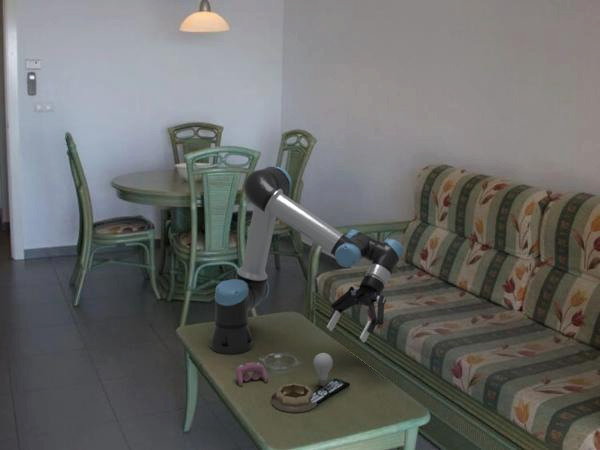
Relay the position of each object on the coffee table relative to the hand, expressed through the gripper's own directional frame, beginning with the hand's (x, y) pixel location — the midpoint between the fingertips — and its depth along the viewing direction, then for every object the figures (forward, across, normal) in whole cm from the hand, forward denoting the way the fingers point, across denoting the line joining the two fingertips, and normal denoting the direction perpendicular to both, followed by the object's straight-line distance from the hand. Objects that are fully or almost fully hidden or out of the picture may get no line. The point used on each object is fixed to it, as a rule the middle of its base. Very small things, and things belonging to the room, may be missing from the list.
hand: (345, 334), depth 224 cm
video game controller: (+27, +18, +7) cm, 34 cm away
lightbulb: (+18, 0, -3) cm, 18 cm away
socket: (+28, -1, +7) cm, 29 cm away
